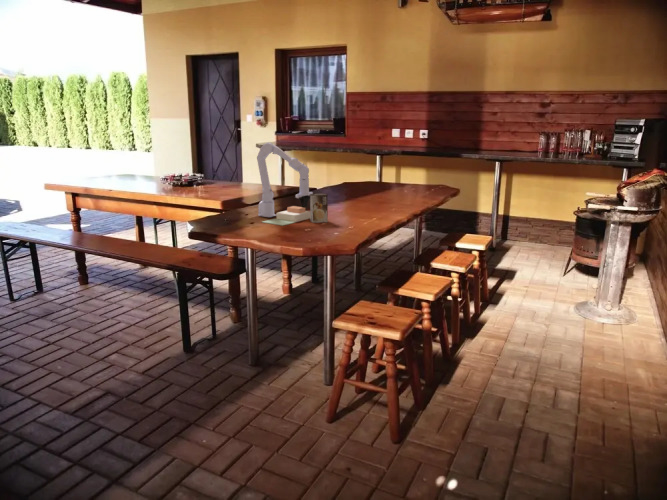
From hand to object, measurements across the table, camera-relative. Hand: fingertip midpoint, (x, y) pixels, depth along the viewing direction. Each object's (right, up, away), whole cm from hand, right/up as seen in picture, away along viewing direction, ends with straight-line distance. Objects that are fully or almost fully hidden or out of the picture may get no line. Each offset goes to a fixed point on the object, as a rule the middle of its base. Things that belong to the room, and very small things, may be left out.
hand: (304, 208), depth 321 cm
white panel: (-6, -7, -7) cm, 11 cm away
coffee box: (+9, -9, -14) cm, 19 cm away
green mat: (-14, -10, -18) cm, 24 cm away
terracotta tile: (-4, -1, -6) cm, 8 cm away
